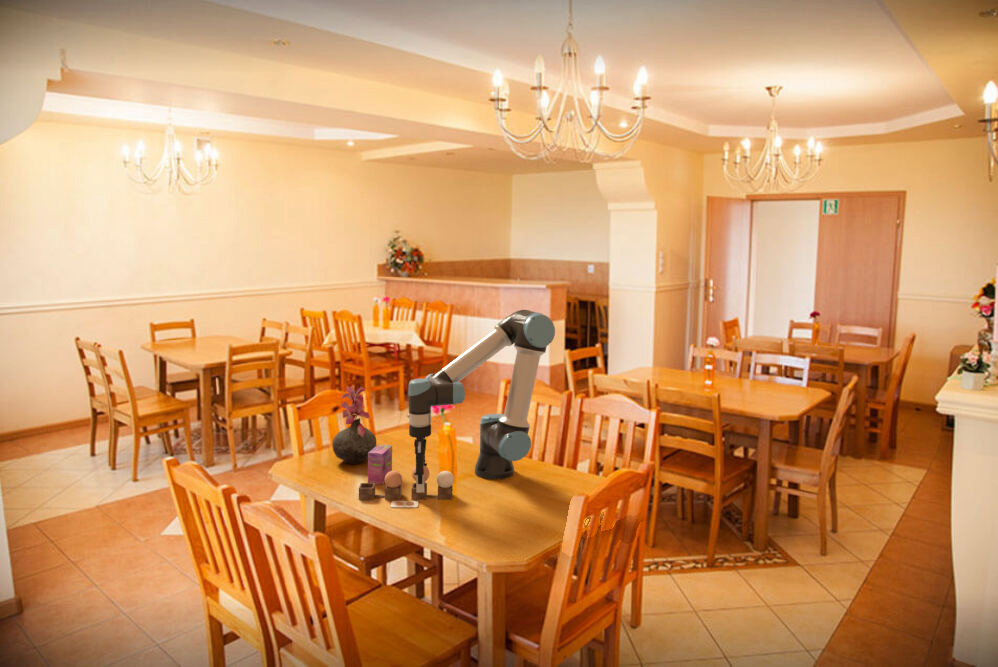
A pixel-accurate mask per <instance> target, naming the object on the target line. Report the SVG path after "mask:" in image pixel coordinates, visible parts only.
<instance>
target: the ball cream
mask: <svg viewBox="0 0 998 667" xmlns="http://www.w3.org/2000/svg"><path fill="white" fill-rule="evenodd" d="M454 482H455V477H454V475H453V474H452V472H450V471H448V470H443V471H440V472H439V473H438V475H437V477H436V483H437V485H439V486H440V487H441V488H449V487H451V486H452V485H453V484H454Z"/></svg>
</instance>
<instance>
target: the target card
mask: <svg viewBox="0 0 998 667" xmlns="http://www.w3.org/2000/svg"><path fill="white" fill-rule="evenodd" d="M418 506H419V500H392V501H391V503H390V509H395V508H396V509H397V508H400V509H404V508H405V509H416V508H418Z"/></svg>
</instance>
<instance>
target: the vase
mask: <svg viewBox="0 0 998 667" xmlns="http://www.w3.org/2000/svg"><path fill="white" fill-rule="evenodd" d="M345 389H346V392H347V393H344V394H343V395H341V398H340V399H342V400H343V398H348V399H349V400H350V402H351V405H349V403H348V402H346V401H343V403H341V404H340V407H341V408H344V409H343V410H342V418H343V419H345V418H346V420H345V425H350V426H349V427H346V428H344V429H342V430H340V431H339V432H337V434H336V435H335V436H334V438H332V439H333V440H332V449H333V450H332V452H333V453H334V455H335V456H336V458H338V459H339V460H342V461H344V462H346V464H349V465H357V464H358V465H359V464H362V463H363V462H364V461H365V460H368V452H370V451H371V450H372V449H373V448H374V447H376V446H377V437H376V435H375V433H374V432H372V431H371V430H370V429H368V428H367V427H365V426H364V425H363V424H362V423H361V418H360V417H362V418H365V419H370V414H369V412H368V411H365V410H364V408H363V403H364V398H363V396H361V393H362V392H365V391H366V389H365V388H364V387H362V386H361V387H359V388H358V389H357V390H354V387H353V386H348V387H345ZM358 416H359V418H357V417H358Z"/></svg>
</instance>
